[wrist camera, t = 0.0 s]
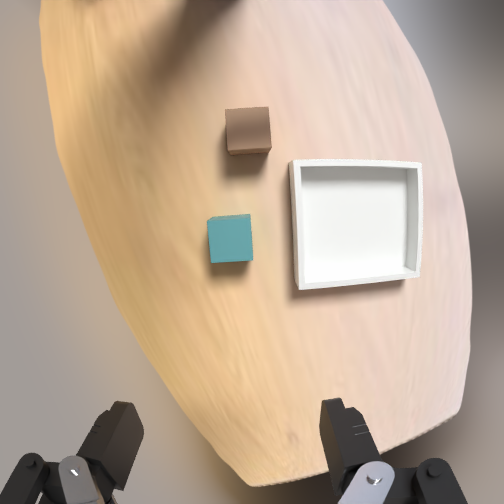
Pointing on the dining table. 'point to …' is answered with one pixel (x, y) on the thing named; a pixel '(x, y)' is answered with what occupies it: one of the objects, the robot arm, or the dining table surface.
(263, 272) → the dining table surface
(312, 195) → the white tray
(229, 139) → the walnut block
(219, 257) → the teal block
